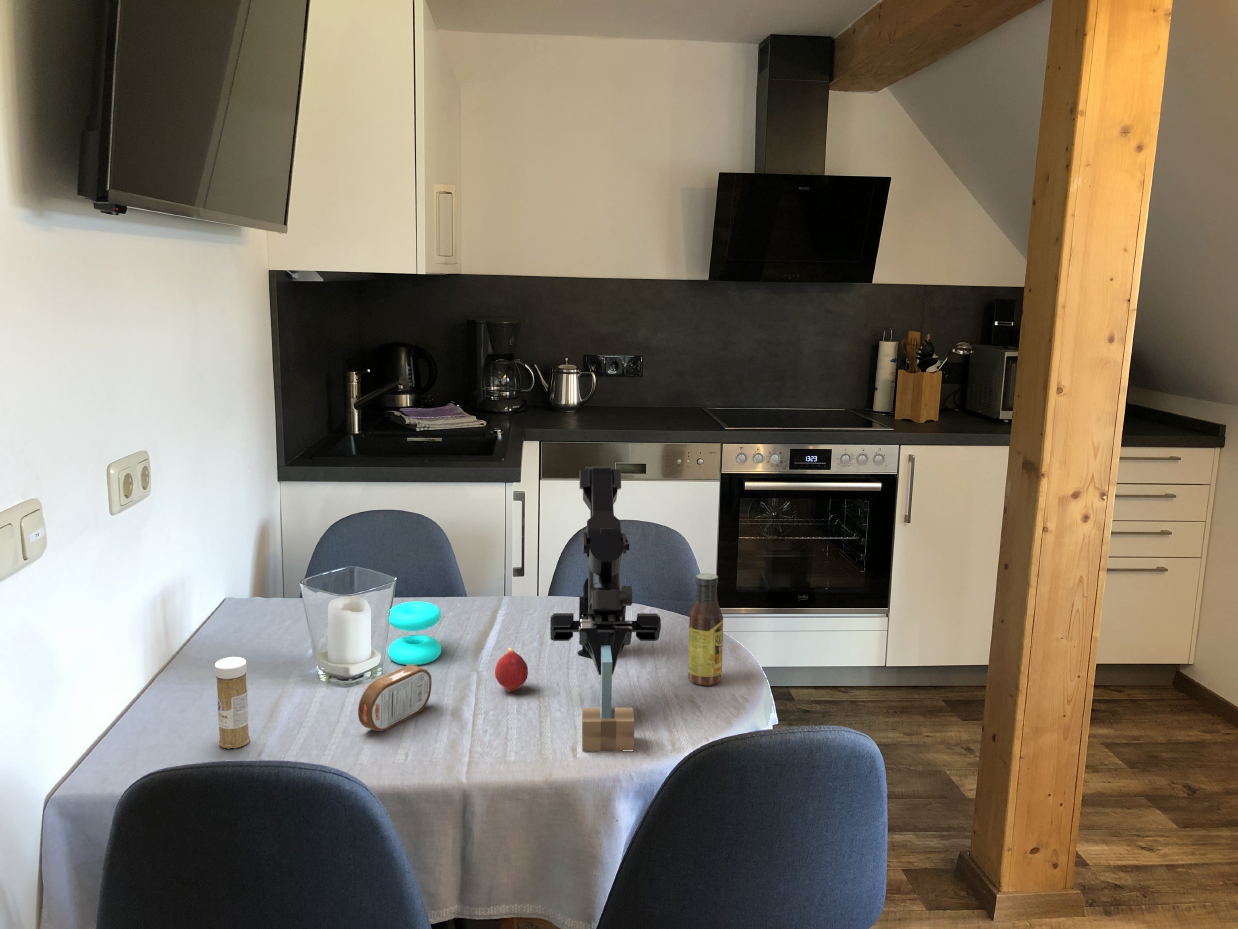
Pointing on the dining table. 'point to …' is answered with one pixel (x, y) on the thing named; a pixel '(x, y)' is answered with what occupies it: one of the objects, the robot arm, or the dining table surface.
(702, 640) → the sauce bottle
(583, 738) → the clip block
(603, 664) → the pale blue slab box
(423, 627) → the donuts
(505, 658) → the onion
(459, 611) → the dining table surface
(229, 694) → the sprinkles bottle
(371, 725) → the tin
